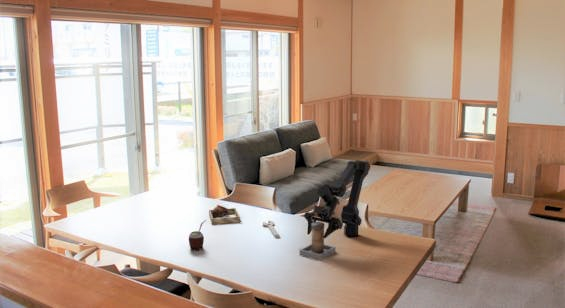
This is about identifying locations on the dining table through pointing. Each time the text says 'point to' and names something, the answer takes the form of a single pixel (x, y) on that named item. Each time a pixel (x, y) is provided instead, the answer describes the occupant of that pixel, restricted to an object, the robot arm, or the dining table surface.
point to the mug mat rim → (226, 219)
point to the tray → (308, 252)
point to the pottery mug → (221, 211)
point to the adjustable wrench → (271, 228)
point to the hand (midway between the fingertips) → (316, 236)
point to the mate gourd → (196, 239)
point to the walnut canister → (317, 237)
